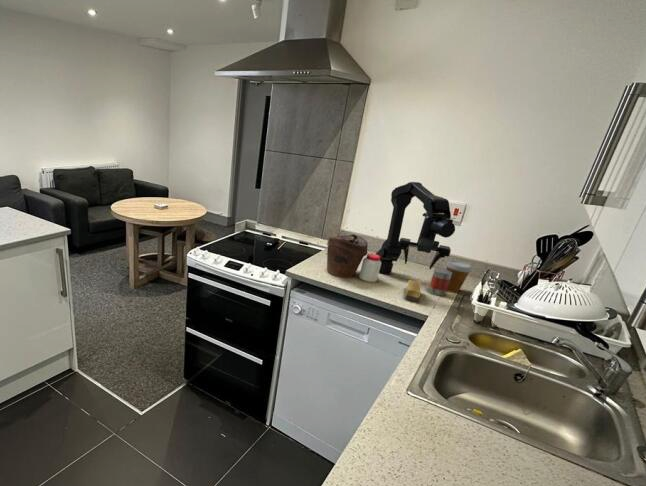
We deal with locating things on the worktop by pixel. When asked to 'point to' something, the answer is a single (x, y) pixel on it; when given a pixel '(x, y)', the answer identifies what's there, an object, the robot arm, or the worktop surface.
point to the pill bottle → (370, 268)
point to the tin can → (439, 281)
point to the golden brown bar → (413, 291)
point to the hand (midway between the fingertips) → (417, 266)
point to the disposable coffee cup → (457, 274)
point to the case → (345, 254)
